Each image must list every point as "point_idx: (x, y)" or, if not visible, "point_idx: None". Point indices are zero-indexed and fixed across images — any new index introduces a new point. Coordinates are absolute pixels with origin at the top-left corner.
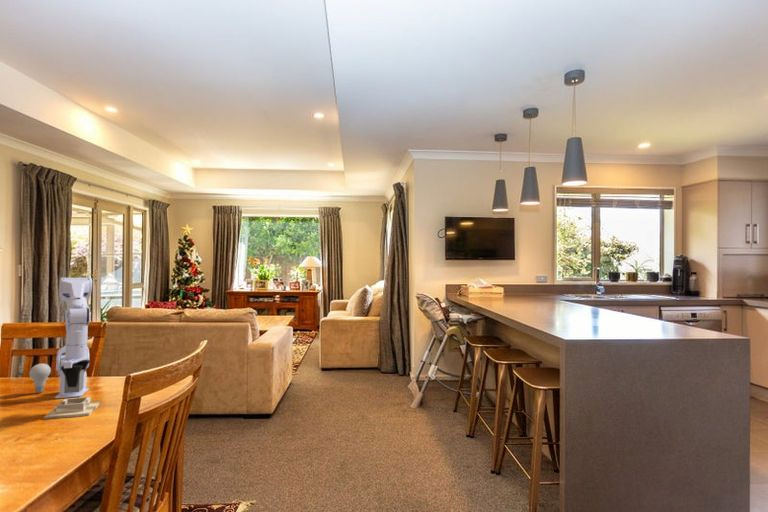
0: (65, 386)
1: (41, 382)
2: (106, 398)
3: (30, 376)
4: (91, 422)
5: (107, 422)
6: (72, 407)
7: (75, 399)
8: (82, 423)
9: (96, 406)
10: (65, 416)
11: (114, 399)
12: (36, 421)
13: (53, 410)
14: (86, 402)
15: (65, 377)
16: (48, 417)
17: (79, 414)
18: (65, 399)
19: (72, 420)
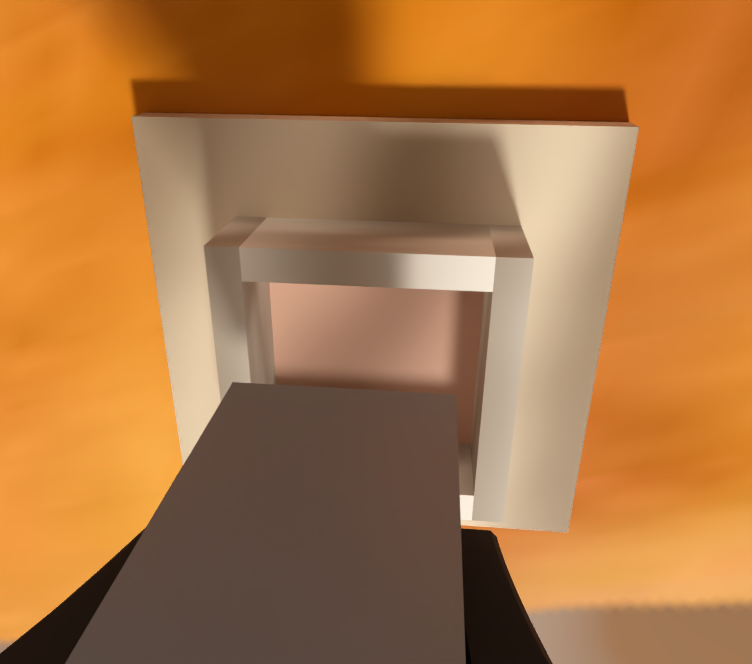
0: (195, 465)
1: None
2: (742, 533)
3: None
4: (20, 533)
5: (12, 620)
6: None
7: (483, 376)
8: (2, 481)
9: None
10: (170, 320)
11: (655, 597)
12: (101, 48)
13: (374, 139)
14: None
15: (95, 624)
16: (142, 165)
17: (182, 433)
18: (493, 268)
19: (86, 394)
